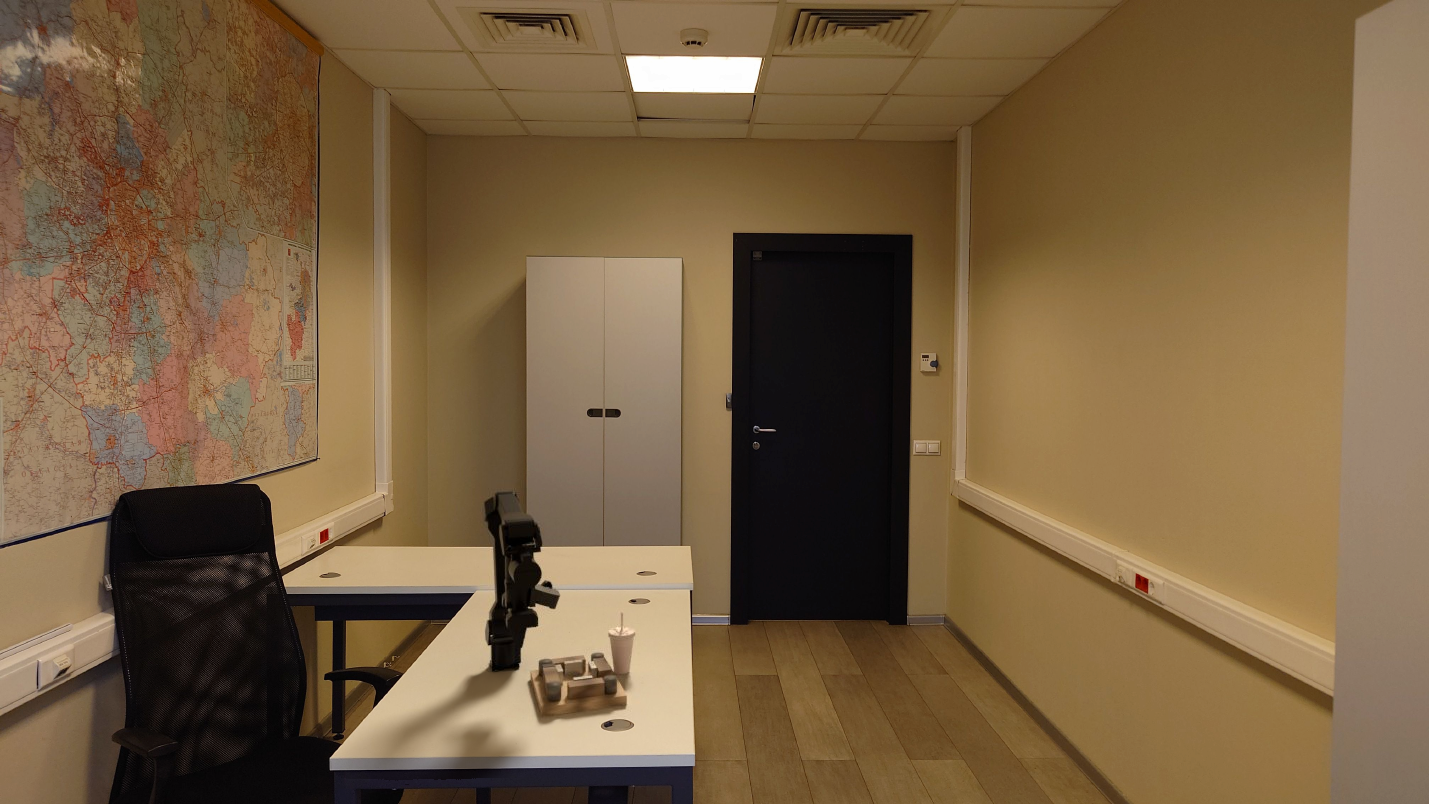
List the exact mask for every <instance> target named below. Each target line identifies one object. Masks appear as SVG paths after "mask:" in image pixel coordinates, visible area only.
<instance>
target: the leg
mask: <svg viewBox="0 0 1429 804" xmlns="http://www.w3.org/2000/svg"><path fill="white" fill-rule="evenodd" d="M542 678H543V682H544V687H545V691H546V695H547V700H549V701H557V700H560V699H561V682H560V680H559V676H558V673H557V669H556V665H555V663H552V664H543V665H542Z"/></svg>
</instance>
